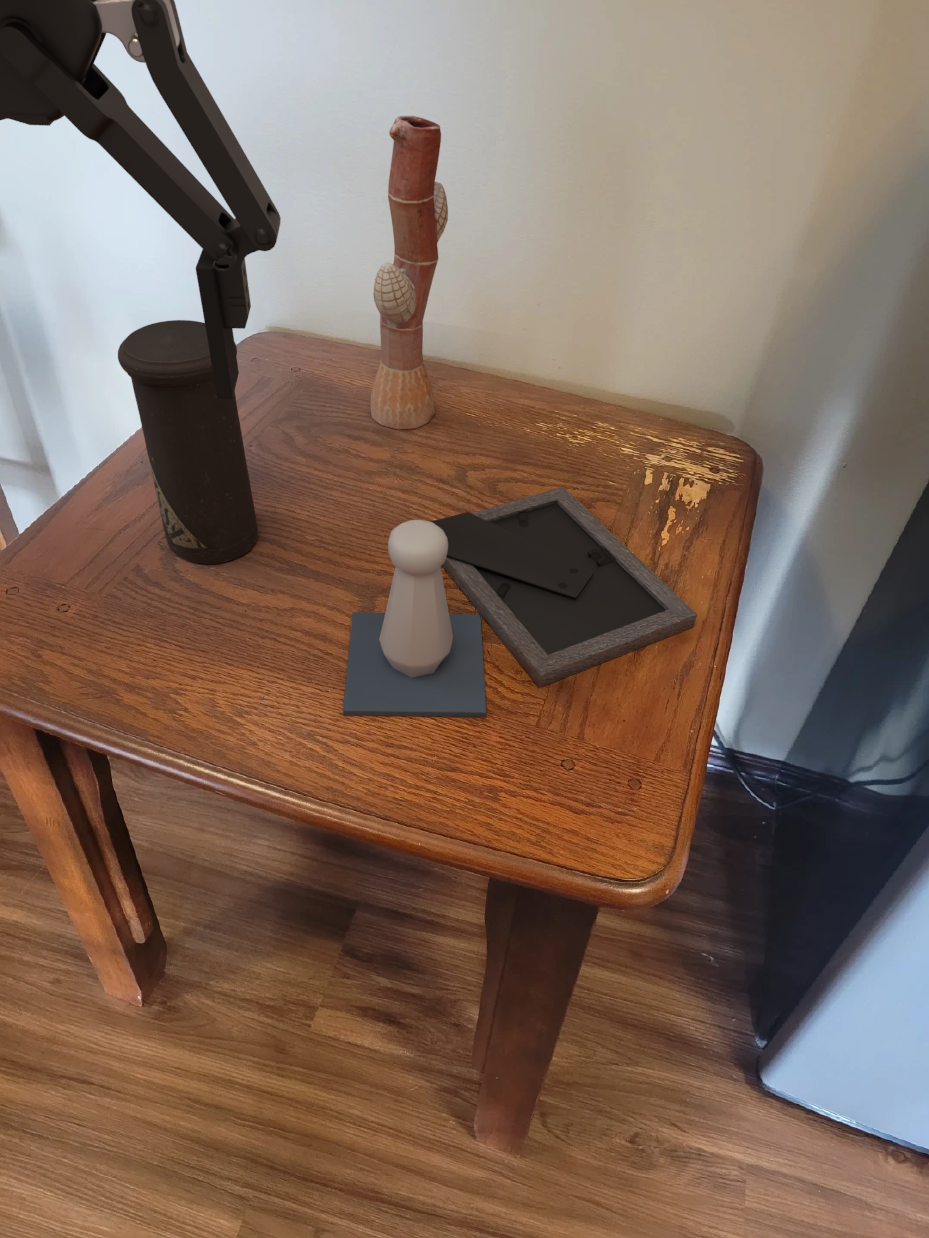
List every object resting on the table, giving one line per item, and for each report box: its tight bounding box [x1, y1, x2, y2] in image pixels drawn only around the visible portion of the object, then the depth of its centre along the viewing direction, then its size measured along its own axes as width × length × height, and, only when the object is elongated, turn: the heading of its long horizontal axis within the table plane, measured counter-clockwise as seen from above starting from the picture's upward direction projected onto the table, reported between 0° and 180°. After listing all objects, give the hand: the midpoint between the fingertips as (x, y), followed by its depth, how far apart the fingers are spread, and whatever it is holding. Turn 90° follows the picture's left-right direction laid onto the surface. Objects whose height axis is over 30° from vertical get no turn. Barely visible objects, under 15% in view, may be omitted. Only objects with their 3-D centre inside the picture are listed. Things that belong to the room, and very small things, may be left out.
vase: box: [369, 115, 449, 431], centre depth 88 cm, size 10×7×30 cm
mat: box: [342, 611, 487, 718], centre depth 69 cm, size 11×11×1 cm
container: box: [117, 319, 259, 565], centre depth 73 cm, size 9×9×20 cm
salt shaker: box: [379, 519, 453, 678], centre depth 64 cm, size 6×6×13 cm
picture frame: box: [430, 486, 698, 689], centre depth 77 cm, size 16×2×21 cm
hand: (91, 385), depth 43 cm, fingers open, 13 cm apart
